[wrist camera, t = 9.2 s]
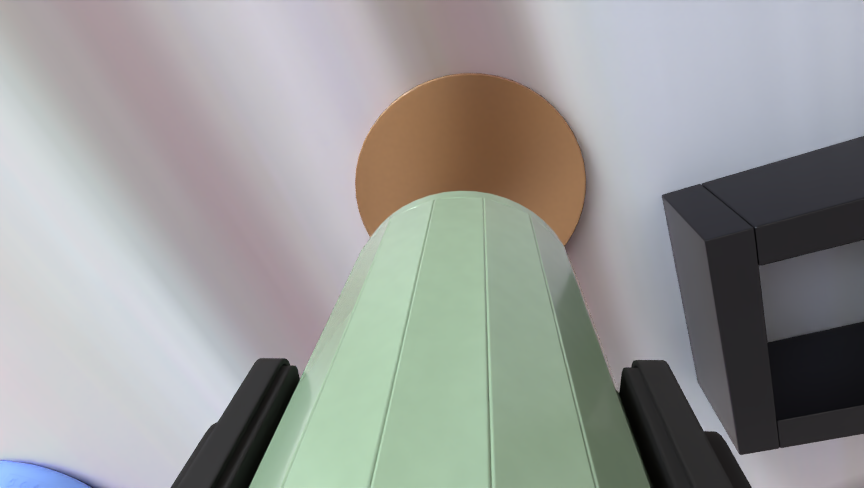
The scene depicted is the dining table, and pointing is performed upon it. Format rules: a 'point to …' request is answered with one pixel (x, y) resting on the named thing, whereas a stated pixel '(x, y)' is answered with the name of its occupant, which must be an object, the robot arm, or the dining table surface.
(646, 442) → the robot arm
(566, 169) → the coaster
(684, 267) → the black square frame
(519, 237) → the cup
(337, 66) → the dining table surface
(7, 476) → the water jug
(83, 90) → the dining table surface
